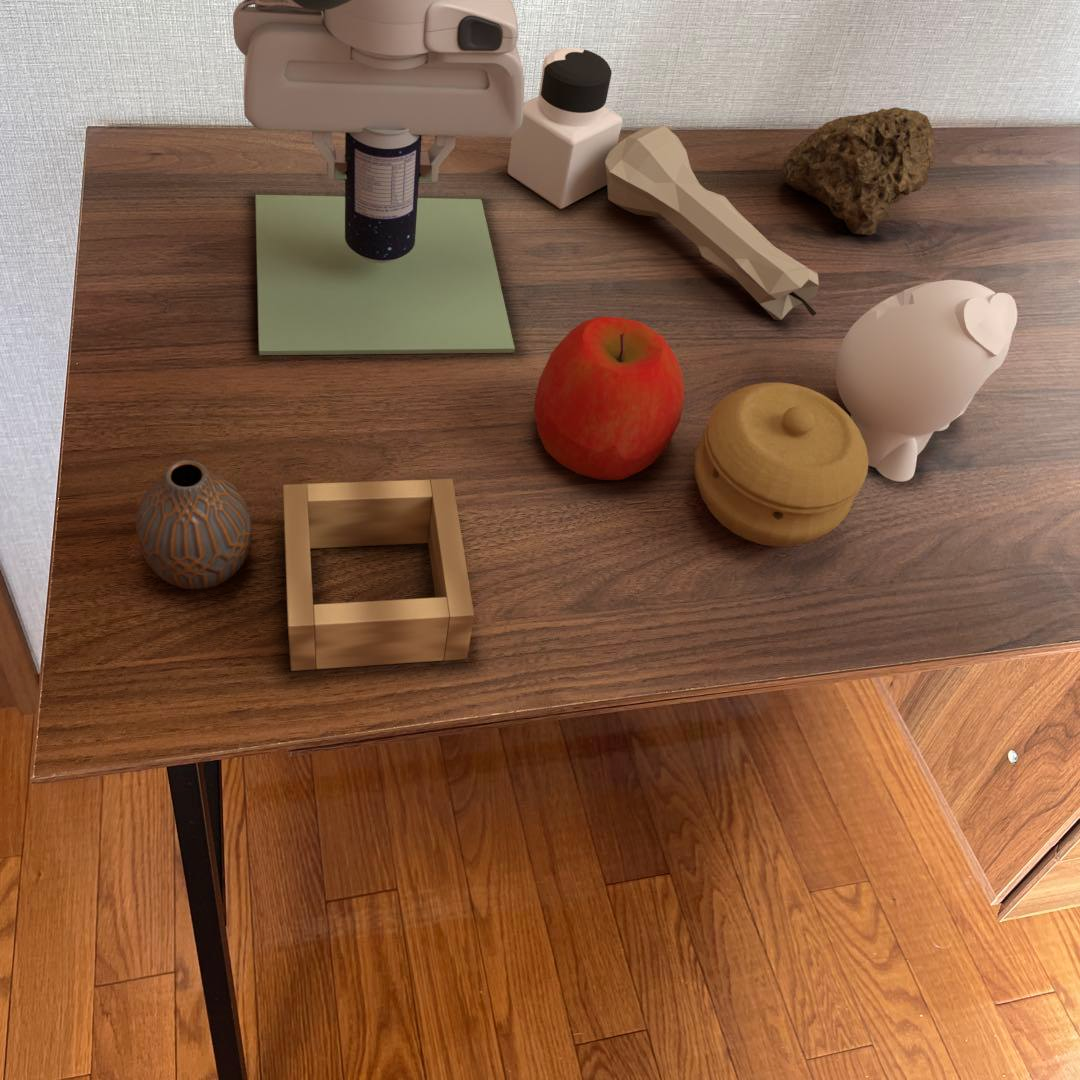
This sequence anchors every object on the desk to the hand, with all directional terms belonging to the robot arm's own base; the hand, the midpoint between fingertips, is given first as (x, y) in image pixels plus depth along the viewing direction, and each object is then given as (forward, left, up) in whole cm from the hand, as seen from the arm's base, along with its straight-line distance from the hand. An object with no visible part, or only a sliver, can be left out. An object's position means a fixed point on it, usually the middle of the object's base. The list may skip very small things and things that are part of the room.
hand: (382, 177), depth 86 cm
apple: (+15, -20, -10) cm, 27 cm away
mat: (0, 0, -9) cm, 9 cm away
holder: (-3, -33, -9) cm, 34 cm away
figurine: (+39, -19, -10) cm, 44 cm away
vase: (-14, -30, -10) cm, 34 cm away
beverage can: (0, 0, -7) cm, 7 cm away
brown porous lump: (+47, +10, -10) cm, 49 cm away
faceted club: (+29, +2, -10) cm, 31 cm away
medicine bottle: (+18, +14, -10) cm, 25 cm away
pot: (+26, -27, -10) cm, 39 cm away
